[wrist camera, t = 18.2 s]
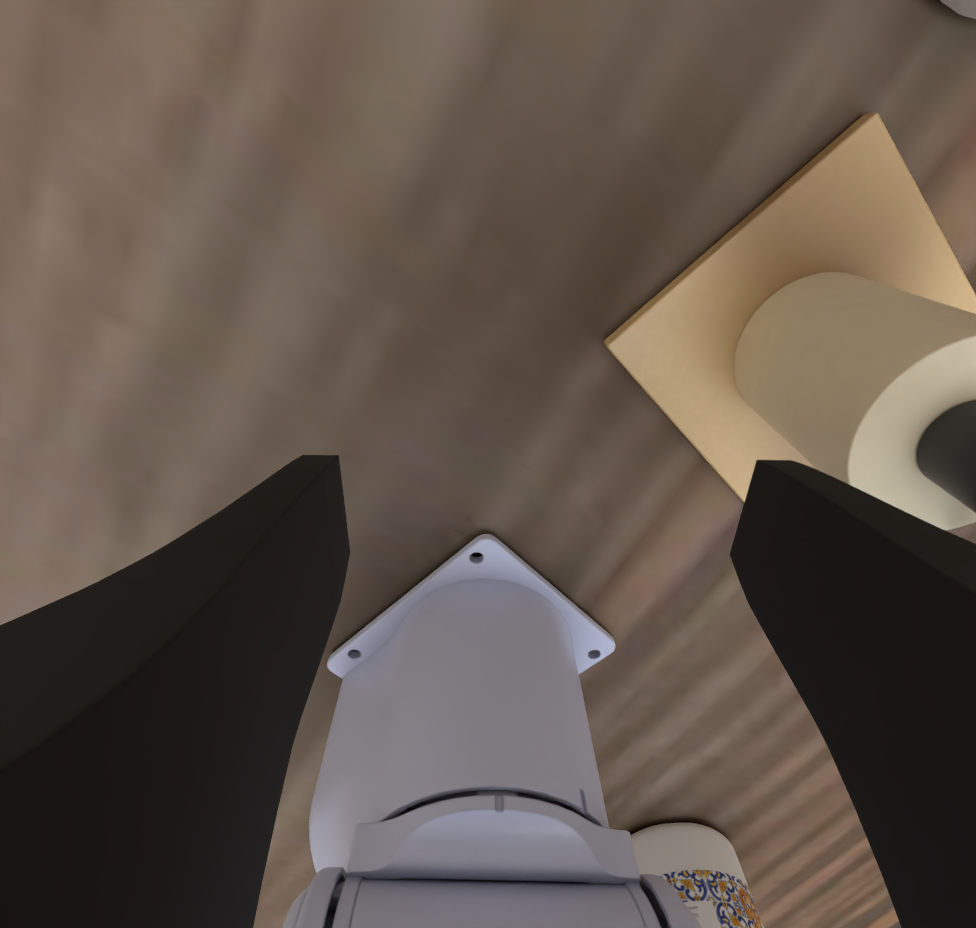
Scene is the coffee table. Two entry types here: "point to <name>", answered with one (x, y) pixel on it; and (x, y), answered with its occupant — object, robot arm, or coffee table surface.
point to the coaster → (771, 266)
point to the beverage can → (962, 7)
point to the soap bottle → (870, 389)
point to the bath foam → (698, 872)
